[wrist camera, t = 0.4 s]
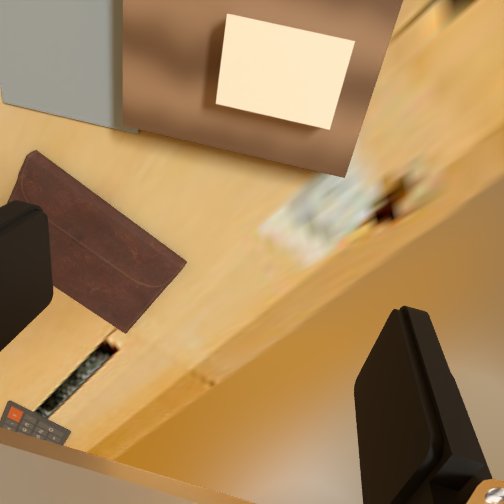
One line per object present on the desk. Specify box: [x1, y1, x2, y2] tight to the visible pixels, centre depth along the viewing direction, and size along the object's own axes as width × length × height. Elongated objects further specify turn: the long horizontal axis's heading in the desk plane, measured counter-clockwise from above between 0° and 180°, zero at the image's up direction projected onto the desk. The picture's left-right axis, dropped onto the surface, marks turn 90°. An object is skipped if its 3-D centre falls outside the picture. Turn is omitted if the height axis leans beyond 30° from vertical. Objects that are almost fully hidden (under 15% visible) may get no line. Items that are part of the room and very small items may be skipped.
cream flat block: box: [216, 14, 355, 130], centre depth 28 cm, size 6×9×2 cm, turn 79°
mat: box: [0, 0, 139, 134], centre depth 34 cm, size 15×14×1 cm
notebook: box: [7, 150, 187, 334], centre depth 45 cm, size 15×20×2 cm
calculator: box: [0, 401, 71, 446], centre depth 69 cm, size 12×1×15 cm
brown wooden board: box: [123, 0, 403, 178], centre depth 31 cm, size 14×20×4 cm
